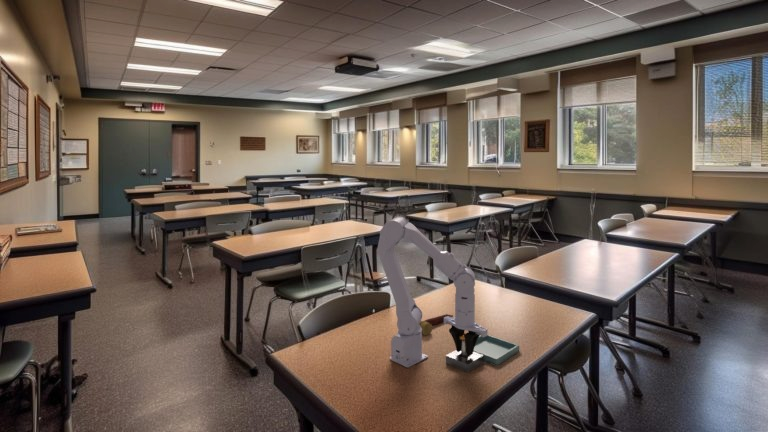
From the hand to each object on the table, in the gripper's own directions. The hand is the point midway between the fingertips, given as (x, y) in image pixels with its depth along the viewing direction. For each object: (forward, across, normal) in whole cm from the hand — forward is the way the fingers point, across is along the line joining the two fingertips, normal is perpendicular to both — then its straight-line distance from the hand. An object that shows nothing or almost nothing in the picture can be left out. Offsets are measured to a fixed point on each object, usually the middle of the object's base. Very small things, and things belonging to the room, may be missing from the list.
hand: (464, 352), depth 124 cm
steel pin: (+3, 0, 0) cm, 3 cm away
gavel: (+4, +26, -16) cm, 31 cm away
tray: (+3, -1, -12) cm, 13 cm away
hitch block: (+3, 0, 0) cm, 3 cm away
